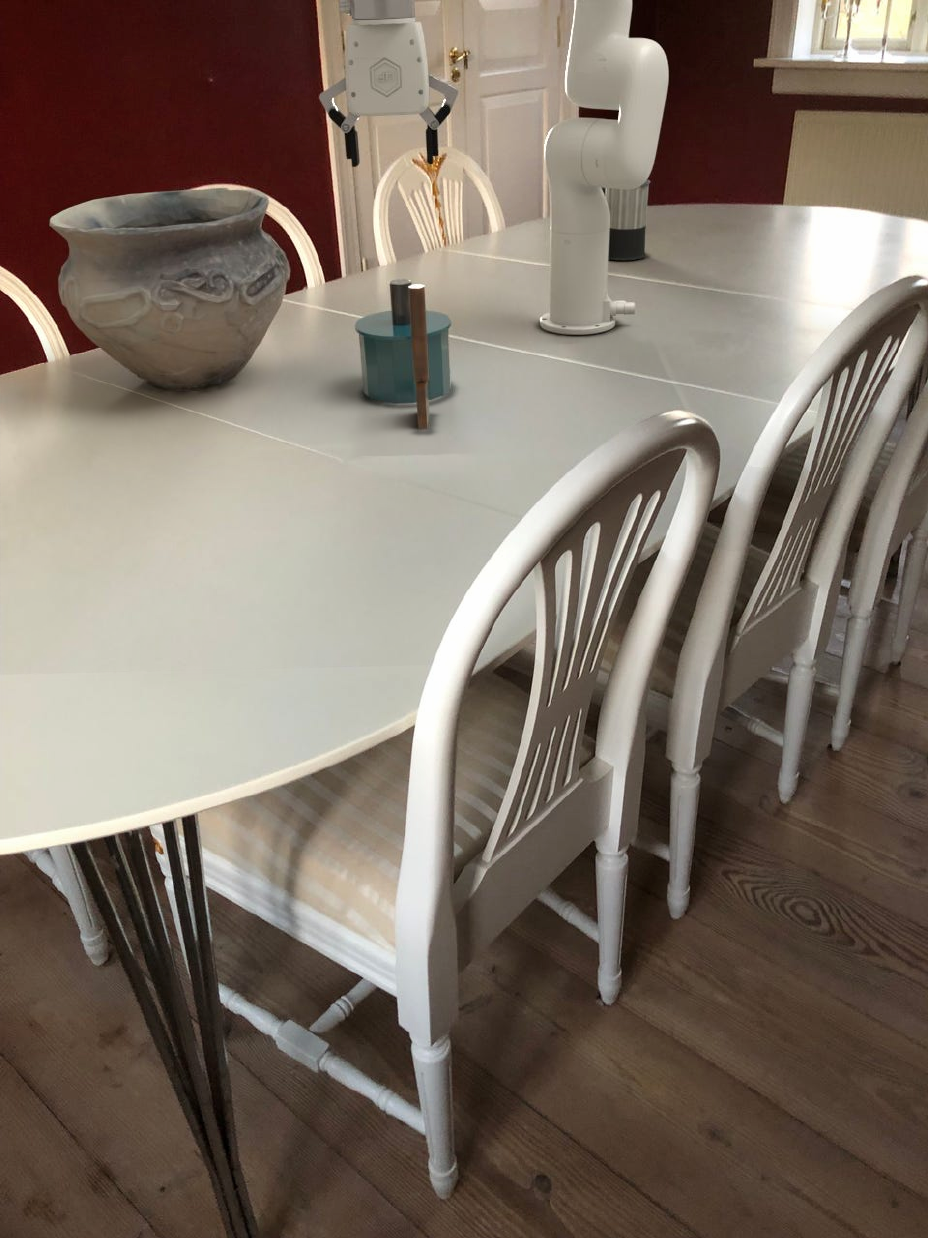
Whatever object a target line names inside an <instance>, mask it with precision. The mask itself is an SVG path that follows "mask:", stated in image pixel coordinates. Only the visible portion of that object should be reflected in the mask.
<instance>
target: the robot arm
mask: <svg viewBox="0 0 928 1238" xmlns="http://www.w3.org/2000/svg"><path fill="white" fill-rule="evenodd" d="M338 3H339V4H338V5H339V13H340V14H346V15H349V16H350V17H351V20H352V23H351V24H346V28H345V39H344V61H345V62H344V68H345V69H344V70H345V71H344V72H345V77H344V78H342V79H341V80H339V81H338V82H336V83H335V84H333V85H332V86H330V87H329V88H327V89H326V90H324V91H322V92H320V94H319V95H318V99H319V101H320V103H321V105H322V106H323V109H324V110H325V112H326V114H327V115H328V118H329V119H330V120H331V121H332V122H333V123H335V125H336V126H338V128H340V130H341V132H342V133H344V144H345V156H346V160H351V167H352V168H357V167H358V166H359V165H360V164H361V163H360V159H361V158H360V148H359V147H360V146H359V137H358V136H359V135H358V131H357V129H356V128H355V127H356V126H355V125H356V123H357V122H358V120H359V118H360V117H387V116H410V115H419V116H420V117H421V118H422V120H424V122H425V124H426V129H425V144H426V145H425V147H426V164H428V165H434V160H435V159H434V157H439V134H438V133H439V132H438V129H439V127H440V126H441V125H442V123H443V122H444V121H445V120H446V119H447V117H449V115H450V114H451V111H452V109H453V107H454V105H455V103H456V99H457V97H458V95H459V90H458V88H457V87H456V86H454V85H452V84H449V83H448V82H446V81H444V80H442V79H441V78H439V77H437V76H435V75H433V74H431V73H429V65H428V56H427V55H428V54H427V46H426V40H425V34H424V30H423V25H422V22H421V21H416V10H415V9H416V7H415V0H339V1H338ZM573 10H574V11H573V21H572V27H571V34H570V40H569V47H568V48H569V49H568V54H567V61H566V68H565V69H566V70H565V78H564V89H565V95H566V97H567V98H568V100H569V102H571V103H572V104H573V105H575V106H577V107H579V108H584V109H593V110H609V111H610V110H611V111H619V112H618V119H610V118H609V119H607V118H600V117H599V118H598V117H571V118H567V119H563V120H560V121H559V122H558V123H556V124H555V125H553V126H552V128H551V129H550V130H549V132H548V135H547V136H546V139H545V142H544V143H545V144H544V149H543V150H544V152H543V153H544V154H543V155H544V165H545V171H546V175H547V182H548V183H547V184H548V190H549V203H550V205H549V206H550V207H549V211H550V223H549V224H550V226H549V312H546V313H544V314H543V315H542V316H541V317H540V318H539V325H540V327H541V328H542V329H544V330H545V331H547V332H550V333H554V334H559V335H571V336H581V335H582V336H585V335H594V334H600V333H605V332H607V331H609V330H611V329H613V328H614V327H615V326H616V319H617V318H616V316H617V315H623V316H625V315H635V313H636V303H635V301H631V302H627V301H626V300H613V299H612V298H610V296H609V294H608V281H609V280H608V279H609V278H608V277H609V259H608V255H609V229H610V211H609V206H608V203H607V200H606V197H605V195H604V193H603V190H602V188H601V187H603V188H613V189H623V190H630V189H635V188H638V187H640V186H641V185H642V184H643V183H644V182H645V181H646V180H648V178H649V177H650V175H651V174H652V170H653V167H654V164H655V160H656V156H657V150H658V145H659V140H660V135H661V128H662V124H663V123H662V122H663V119H664V112H665V107H666V101H667V94H668V87H669V76H670V75H669V71H670V70H669V64H668V63H669V62H668V59H667V55H666V52H665V50H664V49H663V47H662V46H661V45H660V44H659V43H658V42H657V41H655V40H653V39H649V38H645V37H630V29H631V28H630V27H631V20H632V12H633V0H574V8H573ZM430 88H431V89H433V90H435V91H436V92H439V93H440V94H442V95H443V96H444V100H443V103H442V105H441V106H440V108H439V109H438V110H437V111H436V112H435V113H434V111H433V110H432V108H430V106H429V105H430V92H431V91H430ZM345 91H346V94H345V95H346V102H347V103H346V104H347V107H348V110H349V113H348V114H347V115H346V116H345V115H344V114H343V113H342V112H341V110H339V109H338V107H337V106H336V104H335V100H334V99H335V98H336V97H337V96H339V95H341V94H342V93H344V92H345Z"/></svg>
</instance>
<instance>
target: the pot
mask: <svg viewBox="0 0 928 1238" xmlns="http://www.w3.org/2000/svg"><path fill="white" fill-rule="evenodd" d="M449 329H450V328H449ZM449 329H447V330H446V331H444V332H442V333H439V334H437V335H433V336H429V337H427V345H428V364H429V381H428V400H429V401H432V400H435V399H437V398H440V397H443V396H445V395H446V394H447V393H449V392H450V391H451V389H452V388H451V387H452V381H451V380H452V376H451V358H450V357H451V354H450V331H449ZM358 342H359V343H358V344H359V354H360V364H361V376H362V387H363V393H364V394H365V396H367V397H368V398H369V399H372V400H375V401H378V402H383V403H390V404H391V403H392V404H415V403H417V398H416V385H417V382H415V381H414V373H413V356H412V339H409V340H382V339H374V338H369V337H365V336H362V335H360V334H359V333H358Z"/></svg>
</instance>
